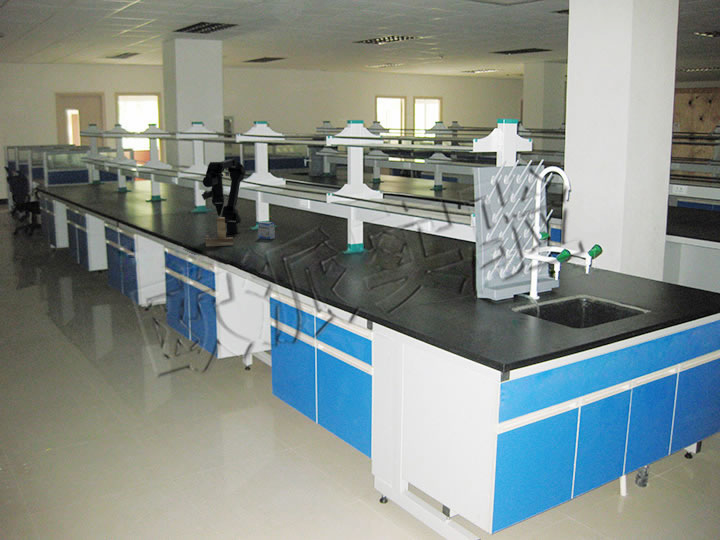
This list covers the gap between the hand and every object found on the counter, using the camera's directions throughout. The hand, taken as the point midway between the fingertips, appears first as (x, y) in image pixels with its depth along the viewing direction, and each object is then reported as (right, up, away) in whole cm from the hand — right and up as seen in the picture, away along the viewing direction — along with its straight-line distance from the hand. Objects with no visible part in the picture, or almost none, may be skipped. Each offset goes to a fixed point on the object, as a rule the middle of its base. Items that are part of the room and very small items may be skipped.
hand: (219, 214), depth 373 cm
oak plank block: (+4, -15, -13) cm, 20 cm away
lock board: (+3, -16, -11) cm, 20 cm away
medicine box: (+26, -13, 0) cm, 29 cm away
